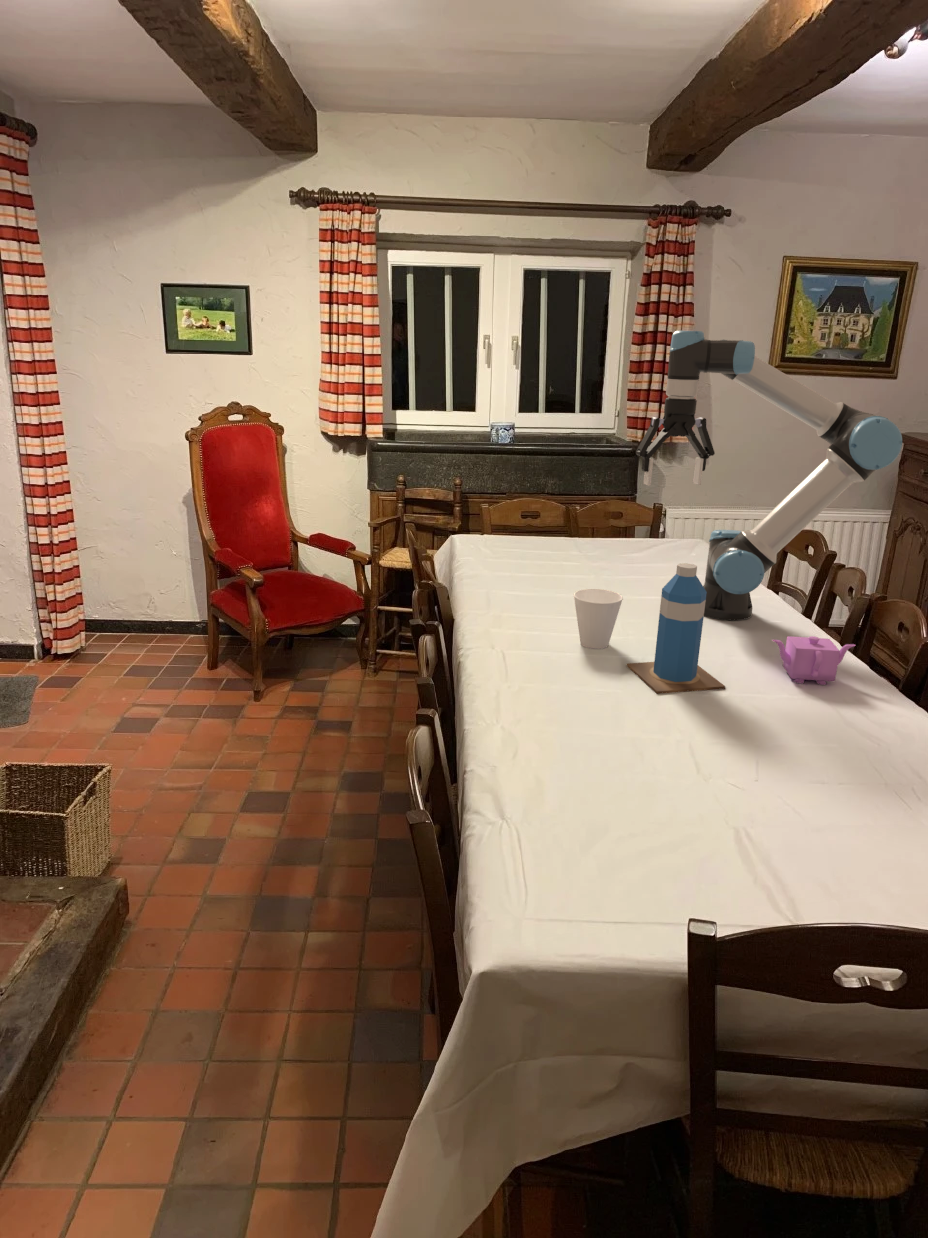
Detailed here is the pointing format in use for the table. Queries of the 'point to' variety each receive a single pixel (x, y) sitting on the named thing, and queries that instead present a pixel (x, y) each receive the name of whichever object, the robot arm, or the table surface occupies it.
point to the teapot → (811, 658)
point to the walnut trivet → (665, 686)
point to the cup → (596, 616)
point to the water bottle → (680, 626)
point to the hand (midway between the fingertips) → (672, 484)
